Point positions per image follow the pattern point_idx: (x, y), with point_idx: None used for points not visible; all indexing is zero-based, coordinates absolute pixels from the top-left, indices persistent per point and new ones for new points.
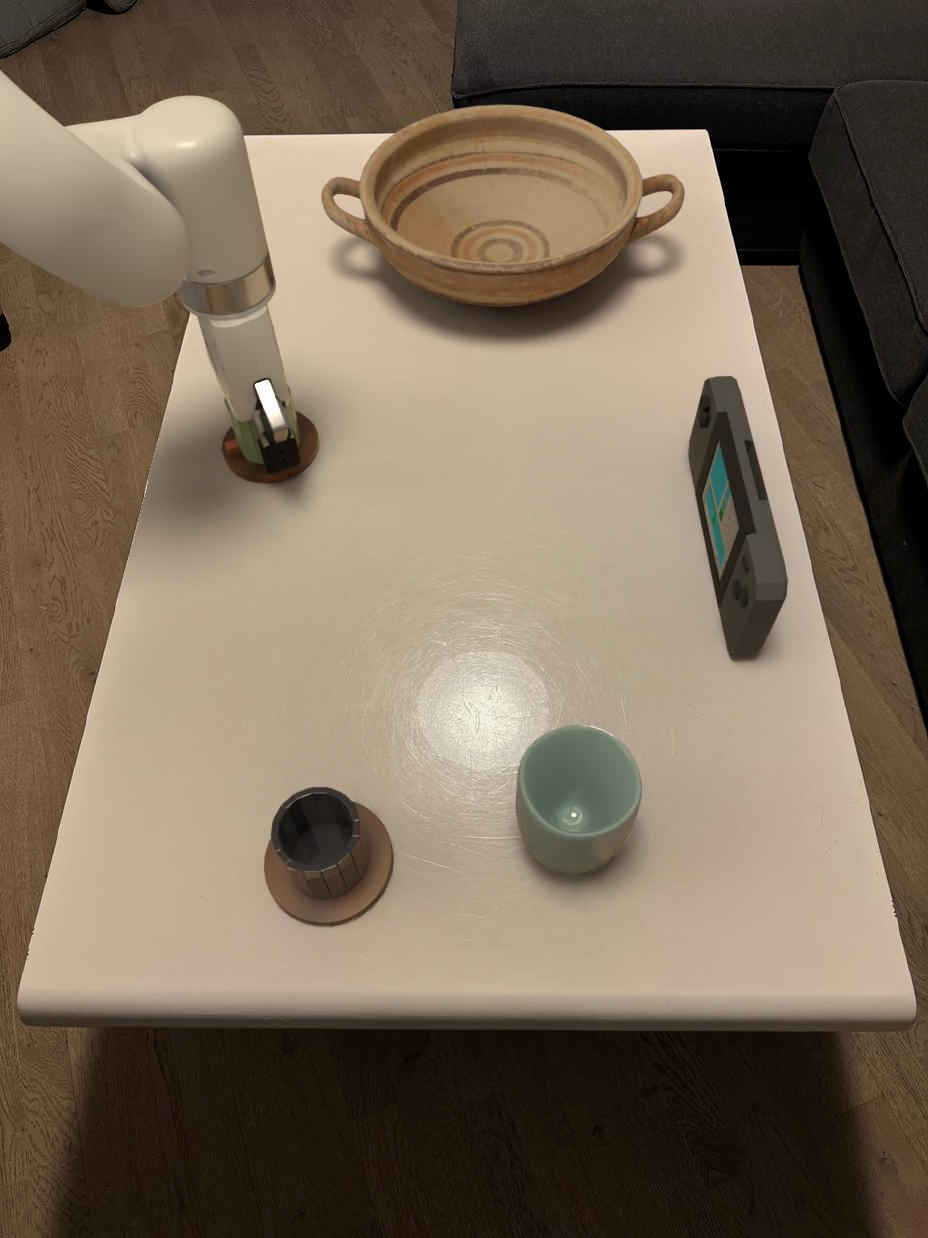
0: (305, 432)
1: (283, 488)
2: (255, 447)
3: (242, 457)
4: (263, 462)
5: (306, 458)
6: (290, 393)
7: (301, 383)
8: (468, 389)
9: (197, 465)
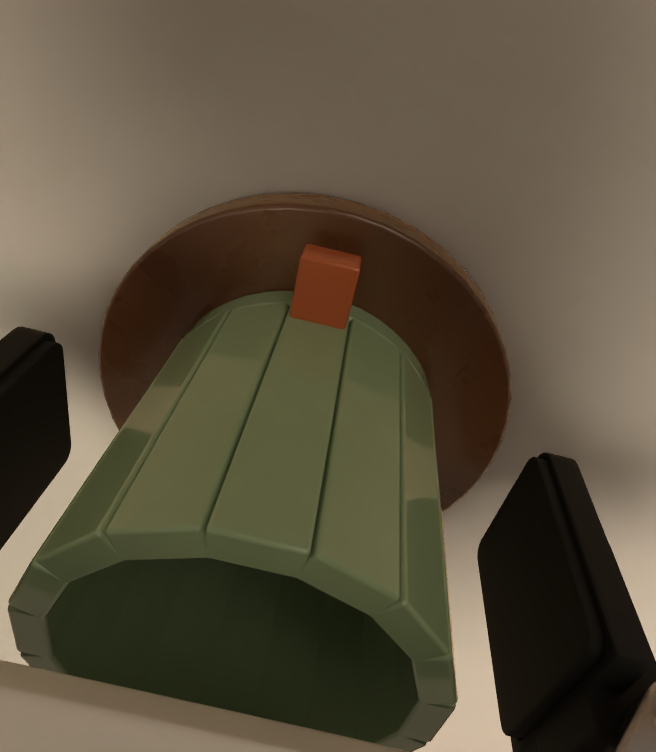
0: None
1: (77, 311)
2: (155, 380)
3: (283, 281)
4: (15, 359)
5: None
6: None
7: None
8: None
9: (435, 57)
